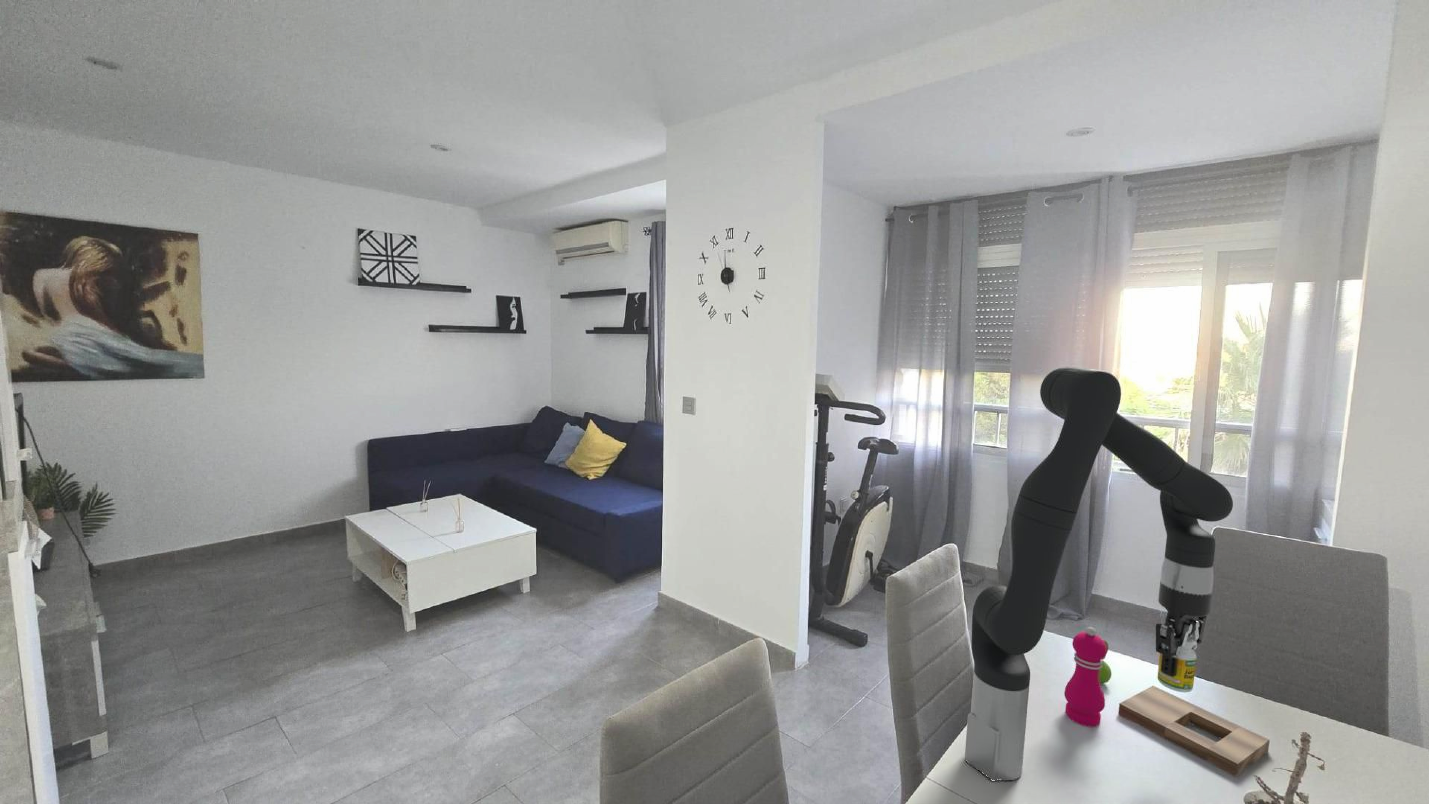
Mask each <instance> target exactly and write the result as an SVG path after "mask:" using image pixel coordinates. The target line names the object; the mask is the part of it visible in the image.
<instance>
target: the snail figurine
mask: <svg viewBox="0 0 1429 804" xmlns="http://www.w3.org/2000/svg"><path fill="white" fill-rule="evenodd" d="M1101 639H1102V640H1103V641H1104V642H1105V644H1106V649H1107V652H1106V655H1105V657H1104V658H1102V661H1103V663H1102V668H1101V669H1099V684H1100V685H1102V684H1103V685H1104V684H1106V683H1108V682H1110V680H1111V678H1112V670H1111V667H1110V666H1109V665H1108V663H1107V662H1106V661H1104V660H1105V659H1106V656H1107V653H1108V651H1109V643H1108V641H1107V640H1106V639H1103V638H1101Z"/></svg>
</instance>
